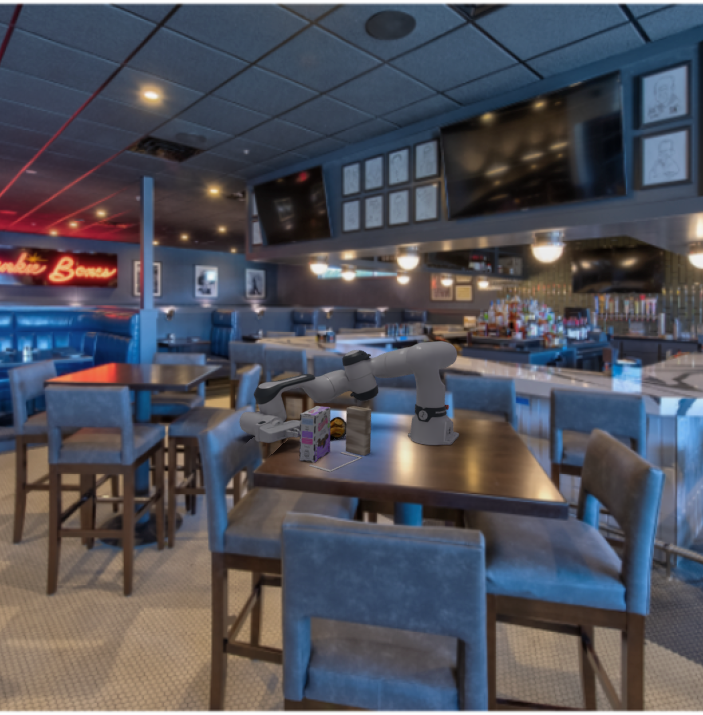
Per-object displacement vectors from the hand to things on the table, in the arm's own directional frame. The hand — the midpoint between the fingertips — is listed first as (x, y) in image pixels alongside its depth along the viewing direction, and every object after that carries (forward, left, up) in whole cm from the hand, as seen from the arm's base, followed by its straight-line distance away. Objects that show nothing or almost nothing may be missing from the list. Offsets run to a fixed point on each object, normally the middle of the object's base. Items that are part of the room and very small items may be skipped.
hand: (300, 434), depth 167 cm
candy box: (0, +7, -7) cm, 10 cm away
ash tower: (-13, +16, -6) cm, 22 cm away
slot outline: (0, +16, -6) cm, 17 cm away
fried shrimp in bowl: (-18, -2, -7) cm, 20 cm away
